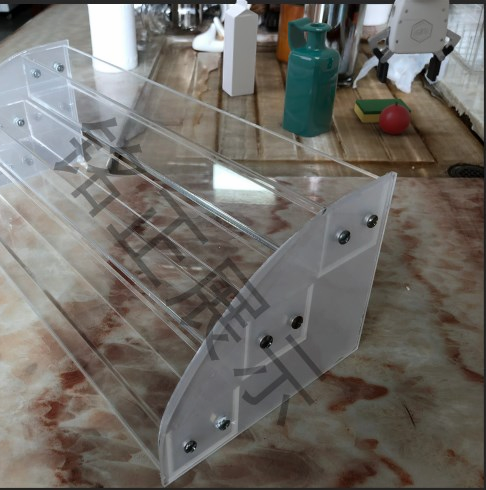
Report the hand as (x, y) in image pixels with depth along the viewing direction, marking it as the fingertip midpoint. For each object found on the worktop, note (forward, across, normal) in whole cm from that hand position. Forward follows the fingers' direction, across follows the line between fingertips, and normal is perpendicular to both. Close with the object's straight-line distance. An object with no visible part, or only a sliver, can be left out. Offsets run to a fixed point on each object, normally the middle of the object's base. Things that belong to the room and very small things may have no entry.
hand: (406, 80), depth 118 cm
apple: (+12, 0, +1) cm, 12 cm away
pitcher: (+12, -18, +5) cm, 22 cm away
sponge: (+11, 0, +10) cm, 15 cm away
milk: (+11, -30, +28) cm, 42 cm away
